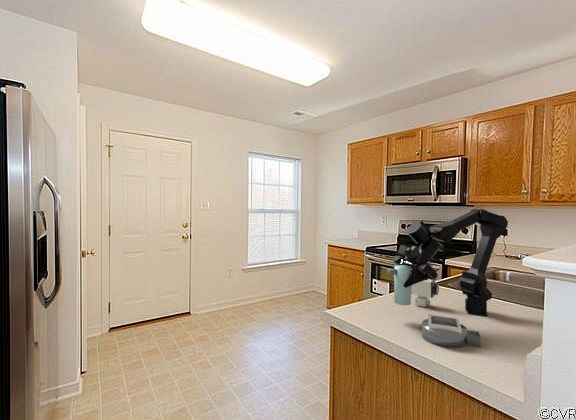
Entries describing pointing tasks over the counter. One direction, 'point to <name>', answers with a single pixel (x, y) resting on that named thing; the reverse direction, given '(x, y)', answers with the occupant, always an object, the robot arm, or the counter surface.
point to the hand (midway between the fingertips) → (399, 284)
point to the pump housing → (401, 284)
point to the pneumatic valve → (424, 292)
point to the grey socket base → (448, 332)
